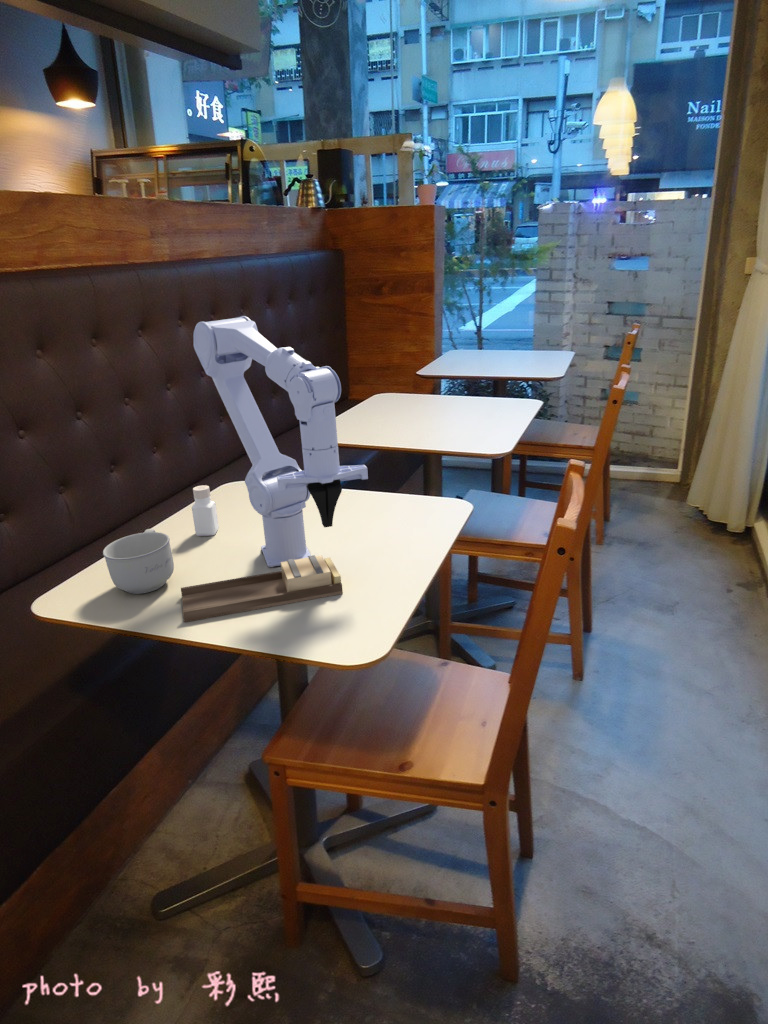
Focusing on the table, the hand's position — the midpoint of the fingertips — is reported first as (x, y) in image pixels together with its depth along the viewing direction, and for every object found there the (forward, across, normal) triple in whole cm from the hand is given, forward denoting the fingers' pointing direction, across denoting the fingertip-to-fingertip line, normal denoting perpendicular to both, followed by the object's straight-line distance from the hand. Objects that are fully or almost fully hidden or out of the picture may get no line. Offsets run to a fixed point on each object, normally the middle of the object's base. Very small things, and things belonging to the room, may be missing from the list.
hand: (327, 524), depth 124 cm
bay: (+9, -12, -3) cm, 16 cm away
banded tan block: (+9, -5, -3) cm, 11 cm away
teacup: (+10, -30, +10) cm, 33 cm away
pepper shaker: (+9, -20, +29) cm, 36 cm away
